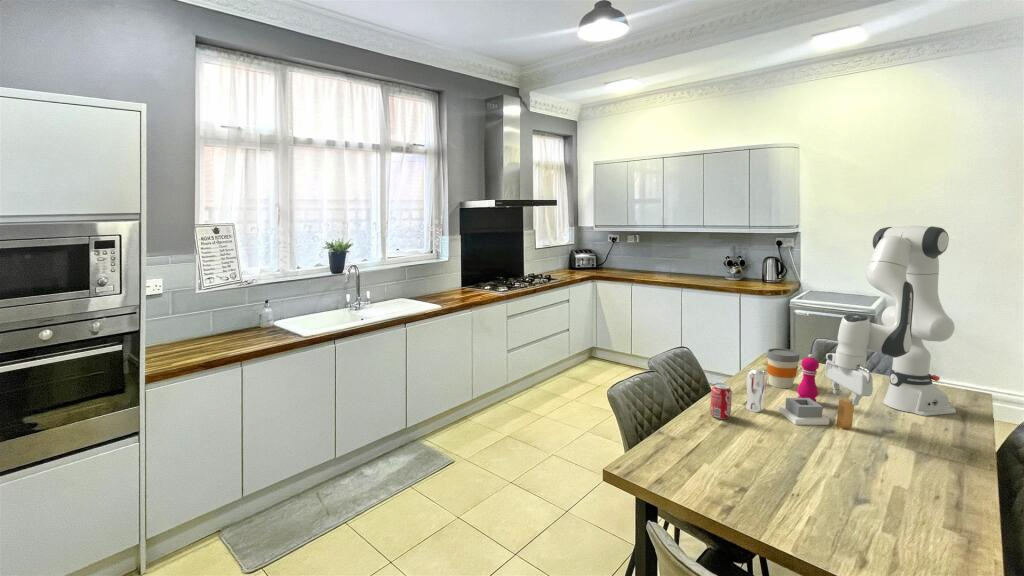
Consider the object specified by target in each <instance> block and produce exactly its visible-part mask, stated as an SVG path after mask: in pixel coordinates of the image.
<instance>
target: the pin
mask: <svg viewBox="0 0 1024 576" xmlns="http://www.w3.org/2000/svg"><path fill="white" fill-rule="evenodd" d="M837 406H838V407H837V414H836V415H837V417H836V426H837V427H838V428H840V429H842V430H852V427H853V418H854V409H855V405H853V404H851V398H838V405H837Z"/></svg>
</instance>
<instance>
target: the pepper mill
mask: <svg viewBox="0 0 1024 576" xmlns="http://www.w3.org/2000/svg"><path fill="white" fill-rule="evenodd" d="M807 356H808V357H804V358H803V359H802V360H801V363H800V364H801V367H802V368H801V370H802V371H801V372H802V380H801V382H800V383H799V385H798V386H797V389H796V391H797V392H796V393H797V394H798V396H797V398H810V399H811V400H813V401H815V402H816V403H817V399H816V398H817V397H818V396H819V389H818V387H817V384H816V375H817V374H818V373H817V372H818V371H817V370H819V367H820V362H819V361H818V359H816V358H814V354H812V353H810V354H807Z"/></svg>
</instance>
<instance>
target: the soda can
mask: <svg viewBox="0 0 1024 576" xmlns="http://www.w3.org/2000/svg"><path fill="white" fill-rule="evenodd" d="M732 393H733V391H732V390H731V386H730V385H729V384H727V383H719V382H717V383H716V382H715V383H714V384H713V387H711V391H710V411H709V412H710V415H711V416H713V418H715V419H718V420H726V419H728V418H730V417H731V413H732V412H731V411H732V396H733V395H732Z"/></svg>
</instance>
